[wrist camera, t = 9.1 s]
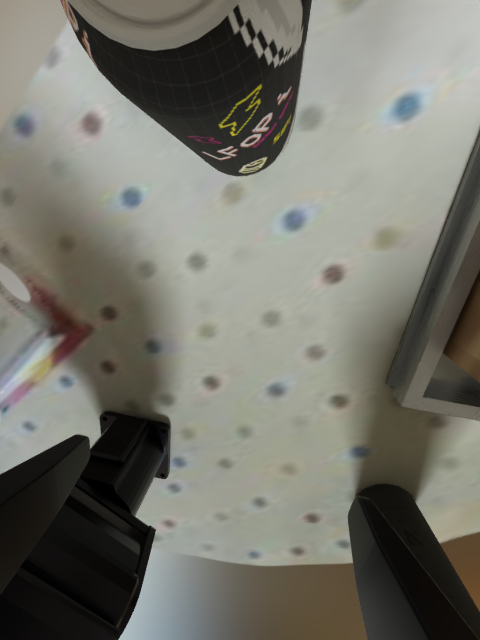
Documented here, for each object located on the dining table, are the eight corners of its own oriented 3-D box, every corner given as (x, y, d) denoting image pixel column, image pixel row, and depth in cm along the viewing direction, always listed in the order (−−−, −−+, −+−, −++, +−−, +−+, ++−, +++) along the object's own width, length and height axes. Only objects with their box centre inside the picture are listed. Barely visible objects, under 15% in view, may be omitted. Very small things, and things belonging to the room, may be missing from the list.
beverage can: (315, 90, 14) (447, -412, 3) (263, 196, 16) (225, 141, 5) (219, 35, 14) (-32, -735, 3) (180, 150, 16) (-53, -14, 5)
